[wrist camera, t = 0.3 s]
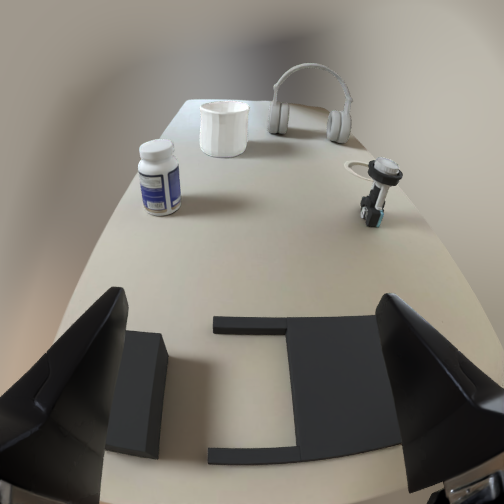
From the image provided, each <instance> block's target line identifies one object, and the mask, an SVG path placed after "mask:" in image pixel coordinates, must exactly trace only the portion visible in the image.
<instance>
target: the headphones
mask: <svg viewBox="0 0 504 504" xmlns="http://www.w3.org/2000/svg"><path fill="white" fill-rule="evenodd" d="M302 68H318V69H322V70H325V71H328V72H329V73H331V74H332V75H333V76H335V77H336V78H337V79H338V81H339V82H340V84H341V86H342V88H343V90H344V92H345V94H346V96H345V98H346V102H345V106H344V110H343V111H340V112H339V111H336V110H333V111H331V112H330V114H329V117H328V122H327V138H328V139H329V140H331V141H336V142H338V143H345V142H347V141H348V139H349V136H350V132H351V116H350V107H351V103H352V102H353V99H352V98H351V96H350V93H349V90H348V87H347V86H346V84H345V82H344V81H343V79H342V78H341V77H340V76H339V75H338V74H337V73H336V72H334V71H333V70H331V69H330V68H328V67H326V66H323V65H320V64H316V63H305V64H301V65H297V66H295V67H293V68H291V69H290V70H288V71H287V72H286V73H285V74H283V76H282V77H281V78H280V79H279V81H278V82H277V84H275V85H274V90H275V92H274V99H273V101H272V102H270V107H269V115H268V126H267V131H268V132H269V133H277V132H278V133H281V134H284V133H286V131H287V127H288V120H289V104H288V103H284V102H282V103H280V102H279V101H277V90H278V89H279V85H281V84H282V83H283V82H284V80H285V79H286V78H287V77H288V76H289V75H291V74H292V73H293V72H295V71H297V70H299V69H302Z"/></svg>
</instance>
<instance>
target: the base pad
mask: <svg viewBox="0 0 504 504" xmlns="http://www.w3.org/2000/svg"><path fill="white" fill-rule="evenodd" d="M213 333H214V334H254V335H285V334H286V343H287V352H288V362H289V371H290V381H291V391H292V401H293V411H294V422H295V433H296V444H297V446H293V447H278V448H208V464H214V465H268V464H285V463H297V462H307V461H315V460H323V459H330V458H337V457H343V456H349V455H354V454H359V453H364V452H369V451H373V450H378V449H382V448H386V447H390V446H394V445H398V444H401V443H402V441H401V436H400V430H399V425H398V420H397V415H396V410H395V405H394V400H393V396H392V391H391V387H390V383H389V378H388V374H387V370H386V366H385V362H384V358H383V354H382V350H381V344H380V338H379V332H378V326H377V321H376V315H368V316H343V317H287V318H271V317H222V316H214V317H213Z"/></svg>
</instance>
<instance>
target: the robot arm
mask: <svg viewBox="0 0 504 504" xmlns="http://www.w3.org/2000/svg"><path fill="white" fill-rule="evenodd" d="M128 309H129V307H128V302H127V298H126V295H125V291H124V289H123V288H122V287H111V288H109V289H108V290H107V291H106V292H105V293H104V294H103V295H102V296H101V297H100V298H99V299H98V300H97V301H96V302H95V303H94V304H93V305H92V306H91V307H90V308H89V309H88V310H87V311H86V312H85V313H84V314H83V315H82V316H81V317H80V318H79V319H78V320H77V321H76V322H75V323H74V324H73V325H72V326H71V327H70V328H69V329H68V330H67V331H66V332H65V333H64V334H63V335H62V336H61V337H60V338H59V339H58V340H57V341H56V342H55V343H54V344H53V345H52V346H51V348H50V349H49V350H48V351H47V353H45V354H44V355H43V356H42V357H41V358H40V359H39V360H38V361H37V363H35V364H34V366H32V368H31V369H30V370H29V371H28V372H27V373H25V374H24V375H23V376H22V377H21V378H20V379H19V380H18V381H17V382H16V383H15V384H14V385H13V386H12V387H11V388H9V389H8V391H6V392H5V393H4V394H3V395H2V396H1V397H0V504H99V500H100V488H101V477H102V468H103V457H104V451H105V443H106V436H107V430H108V424H109V418H110V412H111V406H112V401H113V396H114V390H115V385H116V381H117V376H118V371H119V367H120V362H121V358H122V353H123V347H124V340H125V332H126V324H127V317H128ZM375 315H376V321H377V326H378V332H379V338H380V344H381V350H382V354H383V358H384V362H385V366H386V370H387V374H388V378H389V383H390V387H391V391H392V396H393V400H394V405H395V410H396V415H397V420H398V425H399V430H400V436H401V441H402V446H403V447H402V448H403V454H404V461H405V467H406V475H407V482H408V490H409V493H413V492H416V491H419V490H421V489H424V488H427V487H430V486H433V485H435V484H437V483H440V482H443V484H444V488H442V489H440V490H438V491H436V492H434V493H432V494H431V496H430V498H429V501H428V502H427V504H504V389H503V388H502V387H500V386H499V385H498V384H497V383H496V382H494V381H493V380H492V379H491V378H490V377H488V376H487V375H486V374H485V373H484V372H482V371H481V370H480V369H479V368H478V367H476V366H475V365H474V364H473V363H472V362H471V361H470V360H469V359H467V358H466V357H465V356H464V355H463V354H462V353H461V352H460V351H458V349H457V348H456V347H455V346H454V345H452V344H451V343H450V342H449V341H448V340H447V339H446V338H445V337H444V336H443V335H442V334H440V333H439V332H438V331H437V330H436V329H435V328H434V327H433V326H432V325H430V324H429V323H428V322H427V321H426V320H425V319H424V318H423V317H421V316H420V315H419V314H418V313H417V312H416V311H415V310H413V309H412V308H411V307H410V306H409V305H408V304H406V303H405V302H404V301H403V300H402V299H401V298H399V297H398V296H397V295H396V294H394V293H386V294H384V295H383V296H382V298H381V300H380V302H379V304H378V306H377V308H376V312H375Z"/></svg>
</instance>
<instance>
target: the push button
mask: <svg viewBox="0 0 504 504" xmlns="http://www.w3.org/2000/svg"><path fill="white" fill-rule="evenodd" d="M368 166H369V170H368V174H369V176H370V177H372V179H373V180H374V182H373V185H372V188H371V191H370V194H369V196H367V197H362V200H361V203H360V205H361V217H362V218H363V217H365V219H366V225H367V226H373V227H379V226H380V223H381V221H382V218H383V215H384V213H383V212H384V209H383V208H384V205H385V198H386V195H387V192H388V189H389V187H391V186H396V185H397V184H398V182H399V180H400V179H401V178H402V176H403V174H402V172H401V171H400V170H399V166H398V164H397V163H395V162H394V161H392V160H390V159H386V158H383V157H378V158H377V159H376V160H373V161H370V162H369V165H368ZM362 213H363V215H362Z"/></svg>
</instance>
